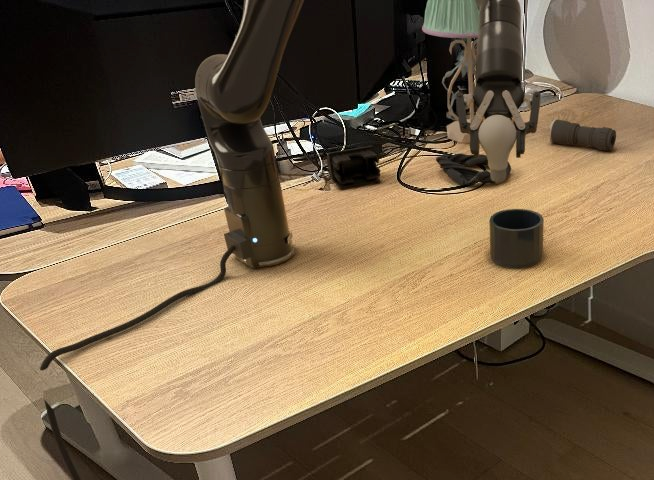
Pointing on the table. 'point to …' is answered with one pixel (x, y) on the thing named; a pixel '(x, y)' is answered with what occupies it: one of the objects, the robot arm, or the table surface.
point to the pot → (516, 238)
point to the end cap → (354, 167)
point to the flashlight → (582, 135)
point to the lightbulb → (497, 144)
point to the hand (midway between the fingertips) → (497, 155)
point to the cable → (466, 169)
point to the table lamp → (454, 22)
